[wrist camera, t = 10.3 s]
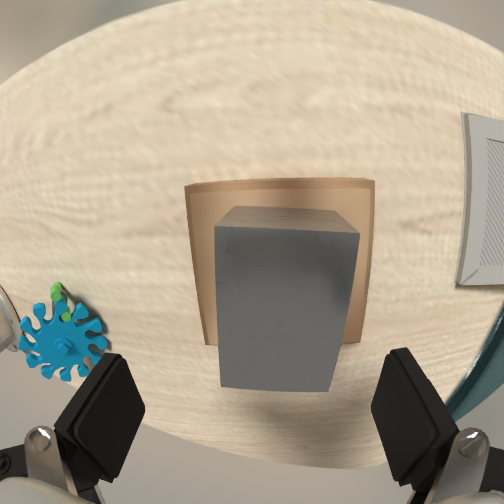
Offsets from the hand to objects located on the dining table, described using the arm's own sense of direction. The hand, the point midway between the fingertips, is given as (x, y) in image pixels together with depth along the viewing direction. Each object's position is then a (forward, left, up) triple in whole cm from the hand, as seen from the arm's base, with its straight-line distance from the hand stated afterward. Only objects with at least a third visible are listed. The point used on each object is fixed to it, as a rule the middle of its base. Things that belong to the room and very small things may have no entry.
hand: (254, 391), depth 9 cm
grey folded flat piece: (+28, +5, -14) cm, 32 cm away
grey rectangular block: (+1, 0, -10) cm, 10 cm away
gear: (-20, -6, -13) cm, 25 cm away
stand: (+1, 0, -13) cm, 13 cm away
